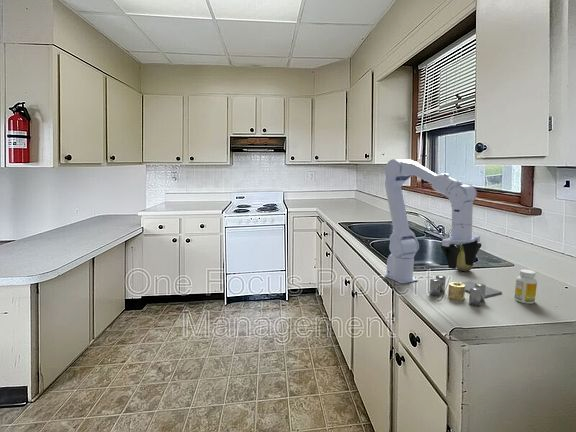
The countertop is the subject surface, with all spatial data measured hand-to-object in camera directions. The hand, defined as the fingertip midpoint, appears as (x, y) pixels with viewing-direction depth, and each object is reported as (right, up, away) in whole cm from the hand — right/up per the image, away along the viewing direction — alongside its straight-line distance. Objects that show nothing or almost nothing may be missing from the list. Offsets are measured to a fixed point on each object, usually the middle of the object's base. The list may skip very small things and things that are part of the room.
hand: (460, 266), depth 111 cm
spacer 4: (+6, -11, 0) cm, 12 cm away
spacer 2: (-3, -9, +8) cm, 13 cm away
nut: (0, -10, +2) cm, 11 cm away
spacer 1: (-6, -10, +5) cm, 13 cm away
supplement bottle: (+20, -11, 0) cm, 23 cm away
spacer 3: (+2, -11, -3) cm, 12 cm away
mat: (+10, -9, +9) cm, 16 cm away
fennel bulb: (+16, -6, +31) cm, 35 cm away
